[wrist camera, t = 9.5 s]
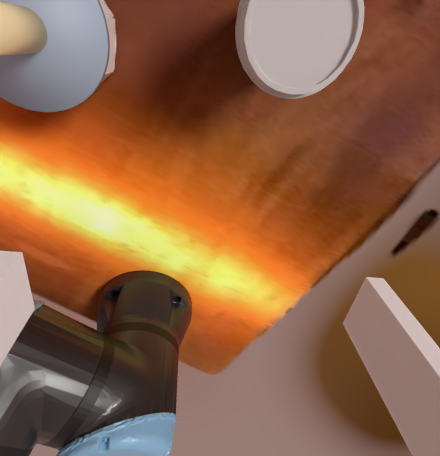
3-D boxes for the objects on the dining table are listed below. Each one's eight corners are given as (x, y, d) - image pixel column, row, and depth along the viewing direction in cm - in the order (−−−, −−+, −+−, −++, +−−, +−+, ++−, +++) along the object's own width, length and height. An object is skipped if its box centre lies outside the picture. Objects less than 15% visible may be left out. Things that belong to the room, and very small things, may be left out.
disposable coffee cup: (211, 63, 33) (217, 72, 23) (246, -45, 28) (274, -94, 18) (288, 96, 35) (325, 119, 25) (332, 1, 31) (399, -19, 20)
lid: (109, 121, 30) (83, 144, 23) (-34, 96, 28) (-110, 113, 21) (110, -47, 23) (73, -85, 16) (-76, -95, 21) (-205, -159, 14)
